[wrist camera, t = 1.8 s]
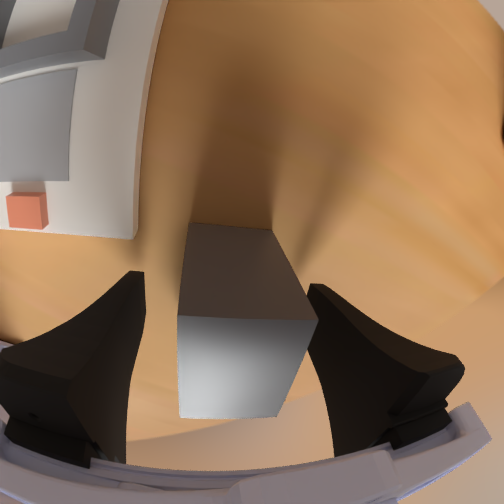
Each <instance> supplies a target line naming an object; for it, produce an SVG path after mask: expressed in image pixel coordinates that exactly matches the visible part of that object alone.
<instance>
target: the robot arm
mask: <svg viewBox="0 0 504 504" xmlns="http://www.w3.org/2000/svg"><path fill="white" fill-rule="evenodd" d="M307 298H308V300H309V302H310V304H311V306H312V308H313V310H314V311H315V313H316V315H317V317H318V319H319V320H318V323H317V326H316V328H315V331H314V333H313V336H312V338H311V341H310V343H309V346H308V348H307V350H308V352H309V355H310V357H311V360H312V362H313V365H314V367H315V370H316V372H317V375H318V377H319V380H320V383H321V386H322V390H323V394H324V398H325V402H326V406H327V411H328V416H329V420H330V427H331V432H332V439H333V448H334V458H329V459H325V460H319V461H315V462H309V463H303V464H297V465H290V466H283V467H275V468H265V469H254V470H237V471H186V470H170V469H158V468H149V467H141V466H134V465H128V464H126V423H127V409H128V398H129V388H130V381H131V376H132V372H133V368H134V364H135V360H136V356H137V353H138V349H139V345H140V341H141V338H142V334H143V329H144V323H145V316H146V302H145V281H144V272H140V271H129V272H128V273H127V274H125V275H124V276H123V277H122V278H121V279H120V280H119V281H118V282H117V283H116V284H115V285H114V286H112V287H111V288H110V289H109V290H108V291H107V292H106V293H105V294H104V295H102V296H101V297H100V298H99V299H98V300H96V301H95V302H94V303H93V304H91V305H90V306H89V307H88V308H86V309H85V310H84V311H82V312H81V313H79V314H78V315H76V316H75V317H73V318H72V319H70V320H69V321H67V322H65V323H63V324H61V325H60V326H58V327H56V328H54V329H52V330H51V331H49V332H46V333H44V334H42V335H40V336H38V337H35V338H33V339H30V340H28V341H25V342H22V343H19V344H16V345H13V344H10V343H7V342H3V341H0V504H398V503H397V501H399V500H401V499H403V498H405V497H407V496H409V495H411V494H413V493H415V492H417V491H419V490H421V489H423V488H424V487H426V486H428V485H430V484H431V483H433V482H435V481H436V480H438V479H440V478H441V477H443V476H445V475H446V474H448V473H449V472H451V471H453V470H454V469H456V468H457V467H458V466H460V465H461V464H463V463H464V462H465V461H466V460H468V459H469V458H471V457H472V456H473V455H474V454H476V453H477V452H478V451H479V450H480V449H482V448H483V447H484V446H485V445H486V444H488V443H489V442H490V441H491V440H492V438H491V436H490V435H489V433H488V431H487V429H486V428H485V426H484V425H483V423H482V421H481V420H480V418H479V417H478V415H477V413H476V412H475V410H474V409H473V407H472V406H471V404H470V403H469V402H466V403H464V404H462V405H460V406H458V407H456V408H454V409H453V410H452V411H450V412H449V413H447V411H446V410H445V408H446V407H447V406H448V403H447V401H446V400H445V398H446V397H447V396H448V395H449V394H450V392H451V391H452V390H453V389H454V388H455V386H456V385H457V384H458V383H459V381H460V380H461V378H462V376H463V375H464V370H465V367H464V365H463V364H462V362H461V361H460V360H459V359H458V357H457V356H456V355H453V354H449V353H446V352H441V351H438V350H434V349H431V348H429V347H426V346H423V345H420V344H418V343H415V342H413V341H411V340H408V339H406V338H404V337H402V336H400V335H398V334H396V333H394V332H392V331H390V330H389V329H387V328H385V327H383V326H382V325H380V324H379V323H377V322H375V321H374V320H372V319H371V318H369V317H368V316H367V315H365V314H364V313H362V312H361V311H359V310H358V309H357V308H355V307H354V306H353V305H351V304H350V303H349V302H347V301H346V300H345V299H344V298H342V297H341V296H340V295H338V294H337V293H336V292H334V291H333V290H332V289H330V288H329V287H327V286H326V285H324V284H313V283H310V286H309V290H308V293H307Z"/></svg>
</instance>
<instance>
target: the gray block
mask: <svg viewBox="0 0 504 504" xmlns="http://www.w3.org/2000/svg"><path fill="white" fill-rule="evenodd" d="M318 320H319V319H318V317H317V315H316V313H315V311H314V310H313V308H312V306H311V304H310V302H309V300H308V298H307V296H306V294H305V292H304V290H303V288H302V286H301V284H300V282H299V280H298V278H297V276H296V274H295V273H294V271H293V269H292V267H291V265H290V263H289V261H288V259H287V257H286V255H285V253H284V252H283V250H282V248H281V246H280V244H279V242H278V240H277V238H276V236H275V235H274V233H273V231H272V230H264V229H254V228H244V227H234V226H223V225H212V224H201V223H190V222H189V227H188V233H187V240H186V247H185V254H184V262H183V270H182V278H181V286H180V295H179V304H178V314H177V360H178V393H179V413H180V418H198V419H245V418H246V419H247V418H267V417H277V415H278V413H279V411H280V409H281V407H282V405H283V403H284V401H285V398H286V396H287V394H288V392H289V390H290V387H291V385H292V383H293V381H294V379H295V376H296V374H297V372H298V369H299V367H300V365H301V362H302V360H303V358H304V355H305V353H306V351H307V348H308V346H309V343H310V341H311V338H312V336H313V333H314V331H315V328H316V326H317V323H318Z"/></svg>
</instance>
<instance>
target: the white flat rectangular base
mask: <svg viewBox="0 0 504 504" xmlns="http://www.w3.org/2000/svg"><path fill="white" fill-rule="evenodd" d="M168 1H169V0H0V229H8V230H21V231H33V232H46V233H59V234H71V235H83V236H96V237H108V238H120V239H133V238H134V237H135V235H136V233H137V231H138V209H139V182H140V166H141V153H142V142H143V132H144V123H145V115H146V107H147V100H148V93H149V87H150V81H151V75H152V69H153V64H154V59H155V54H156V49H157V44H158V40H159V35H160V31H161V27H162V23H163V19H164V15H165V11H166V8H167V4H168Z"/></svg>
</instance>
